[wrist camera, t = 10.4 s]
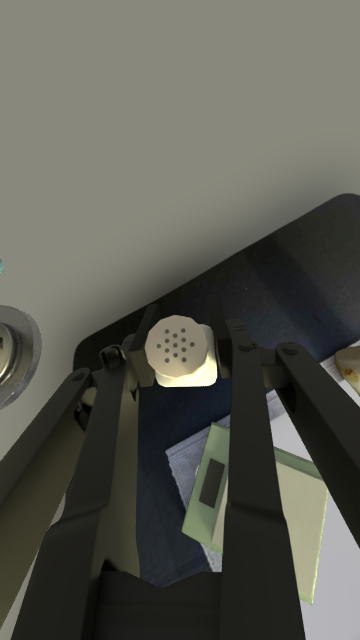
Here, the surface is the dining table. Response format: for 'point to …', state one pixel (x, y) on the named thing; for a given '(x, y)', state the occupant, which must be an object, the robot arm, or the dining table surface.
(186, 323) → the pepper shaker
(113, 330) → the dining table surface
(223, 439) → the scale
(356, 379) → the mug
